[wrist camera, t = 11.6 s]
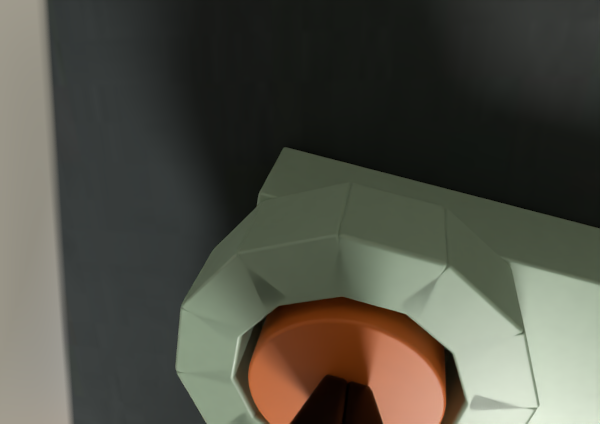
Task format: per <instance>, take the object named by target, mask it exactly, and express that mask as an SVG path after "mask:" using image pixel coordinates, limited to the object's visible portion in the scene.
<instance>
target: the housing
mask: <svg viewBox="0 0 600 424" xmlns="http://www.w3.org/2000/svg"><path fill="white" fill-rule="evenodd" d="M336 297H346V298H349V299H353V300H357V301H360V302H364V303H367V304H371V305H375V306H378V307H382V308H386V309H389V310H393V311H397V312H400V313H404V314H406V315H408V316H409V317H410V318H411V319H412V320H414V321H415V322H416V323H417V324H418V325H419V326H421V327H422V328H423V329H424V330H425V331H427V332H428V333H429V334H430V335H431V336H432V337H434V338H435V339H436V340H437V341H438V342H440V343H441V344H442V345H443V346H444V352H445V377H446V409H445V414H444V416H443V419H442V421H441V423H440V424H600V228H596V227H592V226H588V225H584V224H580V223H577V222H573V221H569V220H565V219H561V218H557V217H553V216H550V215H546V214H542V213H538V212H534V211H530V210H526V209H523V208H519V207H515V206H511V205H507V204H503V203H499V202H495V201H492V200H488V199H484V198H480V197H476V196H472V195H468V194H465V193H461V192H457V191H453V190H449V189H445V188H441V187H438V186H434V185H430V184H426V183H422V182H418V181H414V180H410V179H407V178H403V177H399V176H395V175H391V174H387V173H383V172H380V171H376V170H372V169H368V168H364V167H360V166H356V165H353V164H349V163H345V162H341V161H337V160H333V159H329V158H325V157H322V156H318V155H314V154H310V153H306V152H302V151H298V150H295V149H291V148H287V147H284V148H283V149H282V151H281V153H280V155H279V157H278V159H277V161H276V162H275V164H274V166H273V168H272V170H271V172H270V174H269V175H268V177H267V179H266V181H265V183H264V185H263V187H262V189H261V190H260V192H259V195H258V201H257V207H256V208H255V209H254V210H253V211H252V212H251V213H250V214H249V215H248V216H247V217H246V218H245V219H244V220H243V221H242V222H241V223H240V224H239V225H238V226H237V227H236V228H235V229H234V230H233V231H232V232H231V233H230V234H229V235H228V236H227V237H225V238H224V239H223V240H222V241H221V242H220V243H219V244H218V245H217V246H216V247H215V248H214V249H213V251H212V252H211V254H210V256H209V257H208V259H207V261H206V263H205V264H204V266H203V268H202V270H201V271H200V273H199V275H198V276H197V278H196V280H195V282H194V283H193V285H192V287H191V289H190V290H189V292H188V294H187V296H186V297H185V299H184V301H183V302H182V305H181V309H180V320H179V331H178V342H177V353H176V364H175V369H176V370H177V374H178V376H179V378H180V379H181V381H182V383H183V384H184V386H185V388H186V389H187V391H188V393H189V395H190V396H191V398H192V400H193V401H194V403H195V405H196V406H197V408H198V410H199V412H200V413H201V415H202V417H203V418H204V420H205V422H206V423H207V424H270V423H269V422H268V421H267V420H266V419H265V417H264V416H263V415H262V414H261V412H260V411H259V409H258V408H257V406H256V404H255V402H254V400H253V398H252V395H251V392H250V388H249V382H248V370H249V364H250V361H251V358H252V355H253V352H254V350H255V347H256V344H257V341H258V339H259V336H260V333H261V330H262V328H263V325H264V322H265V320H266V317H267V315H268V314H269V313H271V312H272V311H273V310H274V309H276V308H277V307H278V306H281V305H288V304H295V303H302V302H309V301H316V300H322V299H329V298H336Z"/></svg>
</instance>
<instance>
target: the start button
mask: <svg viewBox="0 0 600 424" xmlns="http://www.w3.org/2000/svg"><path fill="white" fill-rule="evenodd" d="M326 375H332V376H336V377H339V378H342V379H345V380H346V381H347V384H348V382H351V381H353V382H356V383H360V384H363V385H367V386H369V387H370V388H371V389H372V392H373V395H374V397H375V400H376V403H377V406H378V409H379V412H380V415H381V418H382V421H383V424H440V423H441V421H442V419H443V416H444V414H445V409H446V377H445V352H444V346H443V345H442V344H441V343H440V342H438V341H437V340H436V339H435V338H434V337H432V336H431V335H430V334H429V333H428V332H427V331H425V330H424V329H423V328H422V327H421V326H419V325H418V324H417V323H416V322H415V321H414V320H412V319H411V318H410V317H409V316H408V315H406V314H404V313H400V312H397V311H393V310H389V309H386V308H382V307H378V306H375V305H371V304H367V303H364V302H360V301H357V300H353V299H349V298H346V297H336V298H329V299H322V300H316V301H309V302H302V303H295V304H288V305H281V306H278V307H277V308H276V309H274V310H273V311H272V312H271V313H269V314H268V315H267V317H266V320H265V322H264V325H263V328H262V330H261V333H260V336H259V339H258V341H257V344H256V347H255V350H254V352H253V355H252V358H251V361H250V364H249V370H248V382H249V388H250V392H251V395H252V398H253V400H254V402H255V404H256V406H257V408H258V409H259V411H260V412H261V414H262V415H263V416H264V417H265V419H266V420H267V421H268V422H269V423H270V424H290V422H291V421H292V420H293V418H294V417H295V416H296V414H297V413H298V411H299V410H300V409H301V407H302V406H303V405H304V403H305V402H306V401H307V399H308V398H309V396H310V395H311V394H312V392H313V391H314V390H315V388H316V387H317V386H318V384H319V383H320V381H321V380H322V379H323V377H324V376H326Z"/></svg>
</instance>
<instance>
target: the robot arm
mask: <svg viewBox="0 0 600 424" xmlns="http://www.w3.org/2000/svg"><path fill="white" fill-rule="evenodd" d="M290 424H383V421H382V418H381V415H380V412H379V409H378V406H377V403H376V400H375V397H374V395H373V392H372V389H371V388H370V387H369V386H367V385H363V384H360V383H356V382H353V381H351V382H348V384H347V381H346V380H345V379H342V378H339V377H336V376H332V375H326V376H324V377H323V379H322V380H321V381H320V383H319V384H318V386H317V387H316V388H315V390H314V391H313V392H312V394H311V395H310V396H309V398H308V399H307V401H306V402H305V403H304V405H303V406H302V407H301V409H300V410H299V411H298V413H297V414H296V416H295V417H294V418H293V420H292V421H291V422H290Z"/></svg>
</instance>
